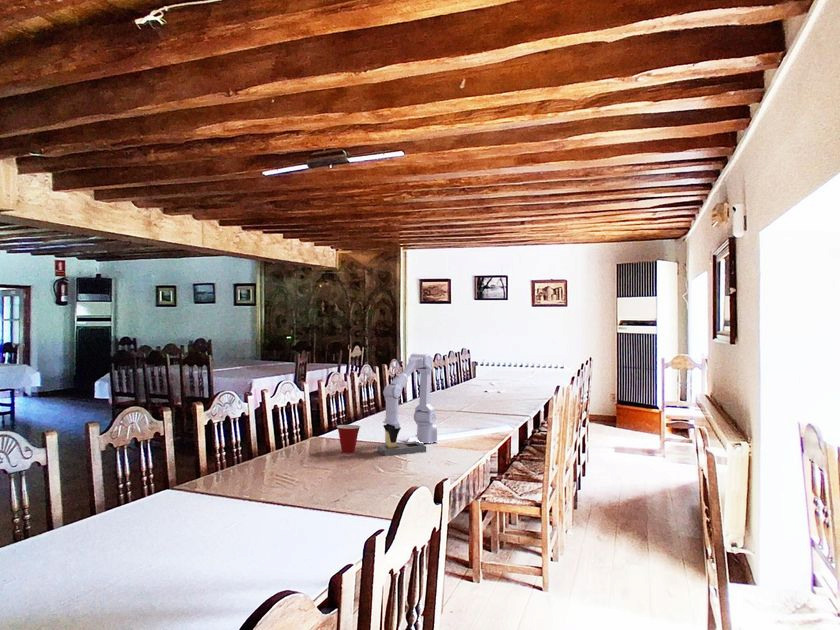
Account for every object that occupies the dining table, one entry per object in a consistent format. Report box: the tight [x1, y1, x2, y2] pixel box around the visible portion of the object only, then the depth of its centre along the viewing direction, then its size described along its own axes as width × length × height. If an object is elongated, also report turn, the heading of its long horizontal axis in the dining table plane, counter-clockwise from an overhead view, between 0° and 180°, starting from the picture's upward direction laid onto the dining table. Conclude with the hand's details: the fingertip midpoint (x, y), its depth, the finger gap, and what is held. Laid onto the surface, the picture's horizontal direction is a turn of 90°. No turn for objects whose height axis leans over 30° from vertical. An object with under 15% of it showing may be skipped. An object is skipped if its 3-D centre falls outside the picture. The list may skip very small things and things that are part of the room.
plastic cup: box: [336, 424, 361, 454], centre depth 246 cm, size 11×11×12 cm
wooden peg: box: [384, 431, 398, 449], centre depth 245 cm, size 4×4×8 cm
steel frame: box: [377, 441, 427, 456], centre depth 247 cm, size 20×10×2 cm, turn 113°
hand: (391, 441), depth 246 cm, fingers closed on wooden peg, 4 cm apart
